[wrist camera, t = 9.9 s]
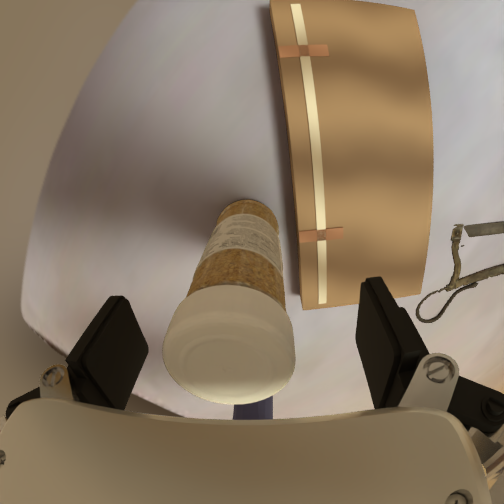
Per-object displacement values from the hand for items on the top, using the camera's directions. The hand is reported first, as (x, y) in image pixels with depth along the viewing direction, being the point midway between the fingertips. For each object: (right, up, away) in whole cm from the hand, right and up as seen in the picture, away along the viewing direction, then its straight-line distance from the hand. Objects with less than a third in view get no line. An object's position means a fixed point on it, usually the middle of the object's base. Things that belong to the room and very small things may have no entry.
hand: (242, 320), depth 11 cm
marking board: (+8, +9, +7) cm, 14 cm away
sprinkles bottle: (0, +4, +10) cm, 11 cm away
